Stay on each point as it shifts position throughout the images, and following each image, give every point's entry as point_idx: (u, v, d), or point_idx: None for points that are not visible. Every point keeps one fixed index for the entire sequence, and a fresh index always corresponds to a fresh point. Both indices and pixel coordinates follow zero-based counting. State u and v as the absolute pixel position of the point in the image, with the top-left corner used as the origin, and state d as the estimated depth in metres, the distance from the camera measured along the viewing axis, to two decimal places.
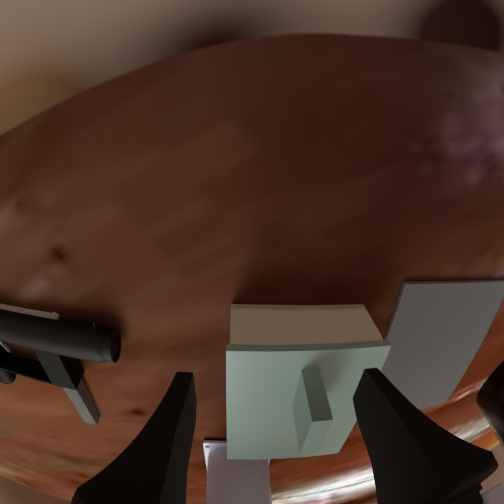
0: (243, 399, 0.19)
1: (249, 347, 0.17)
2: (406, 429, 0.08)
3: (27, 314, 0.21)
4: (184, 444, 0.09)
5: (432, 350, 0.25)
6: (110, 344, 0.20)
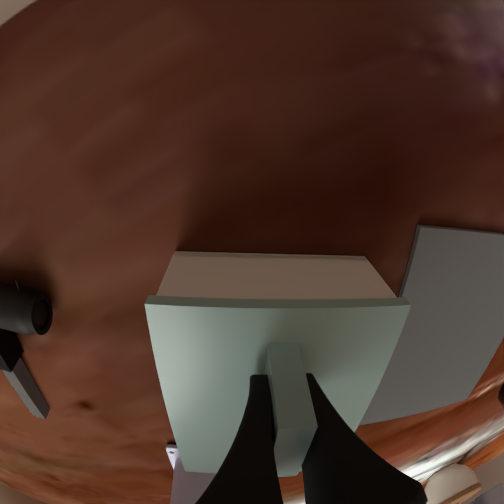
0: (185, 388, 0.13)
1: (180, 301, 0.11)
2: (324, 444, 0.08)
3: None
4: None
5: (455, 329, 0.18)
6: (32, 309, 0.14)
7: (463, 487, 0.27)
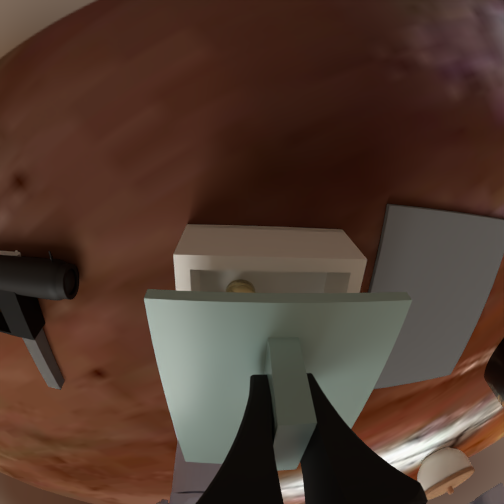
0: (185, 381, 0.13)
1: (180, 295, 0.11)
2: (324, 444, 0.08)
3: None
4: None
5: (431, 300, 0.22)
6: (64, 276, 0.18)
7: (456, 469, 0.31)
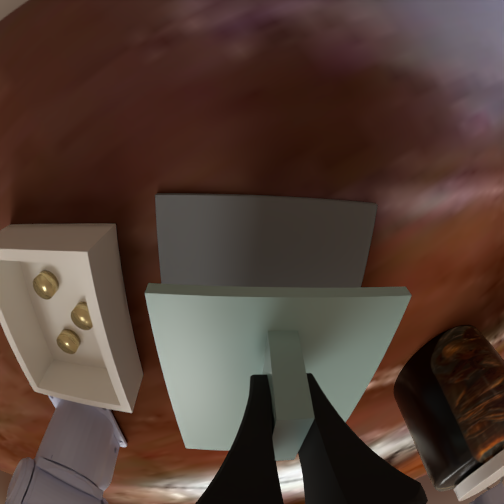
0: (186, 372, 0.13)
1: (181, 289, 0.11)
2: (324, 444, 0.08)
3: None
4: None
5: None
6: None
7: None
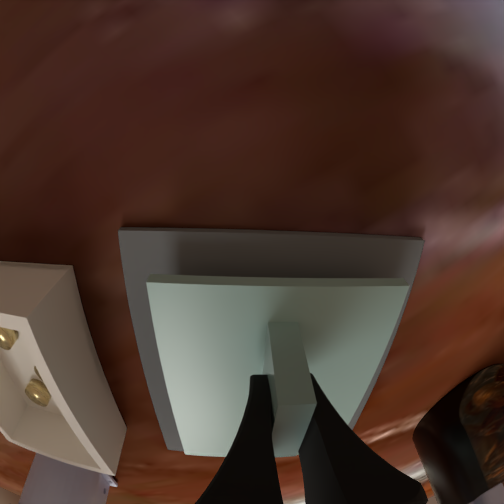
0: (186, 368, 0.13)
1: (182, 279, 0.11)
2: (324, 444, 0.08)
3: None
4: None
5: None
6: None
7: None
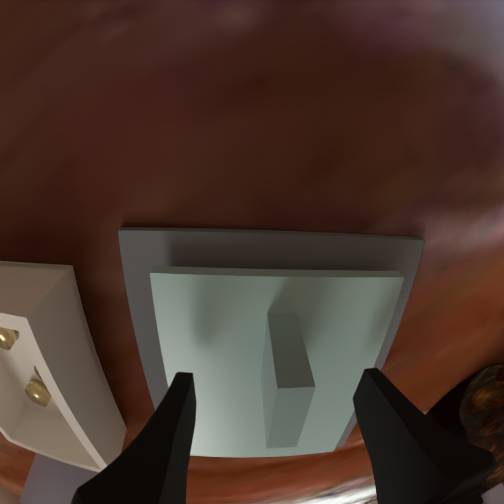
0: (186, 361, 0.13)
1: (184, 270, 0.12)
2: (406, 429, 0.08)
3: None
4: (184, 444, 0.09)
5: None
6: None
7: None
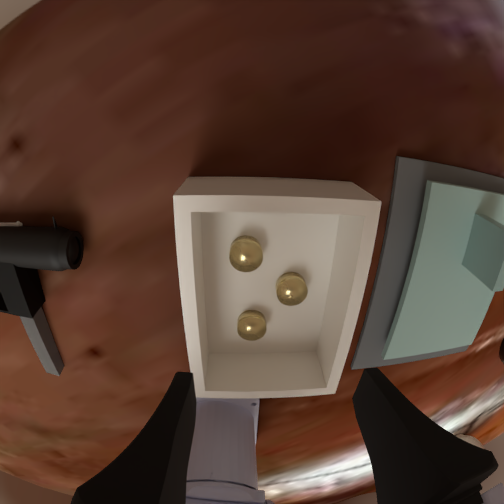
0: (431, 250, 0.18)
1: (444, 183, 0.17)
2: (406, 429, 0.08)
3: None
4: (184, 444, 0.09)
5: None
6: (68, 242, 0.17)
7: None
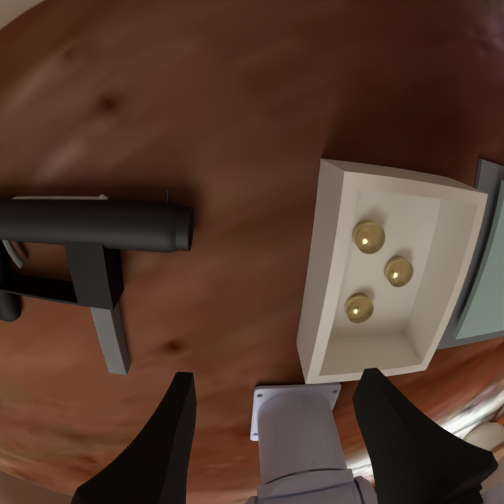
0: (501, 239, 0.18)
1: None
2: (406, 429, 0.08)
3: (62, 199, 0.17)
4: (184, 444, 0.09)
5: None
6: (189, 219, 0.17)
7: (500, 441, 0.30)
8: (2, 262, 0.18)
